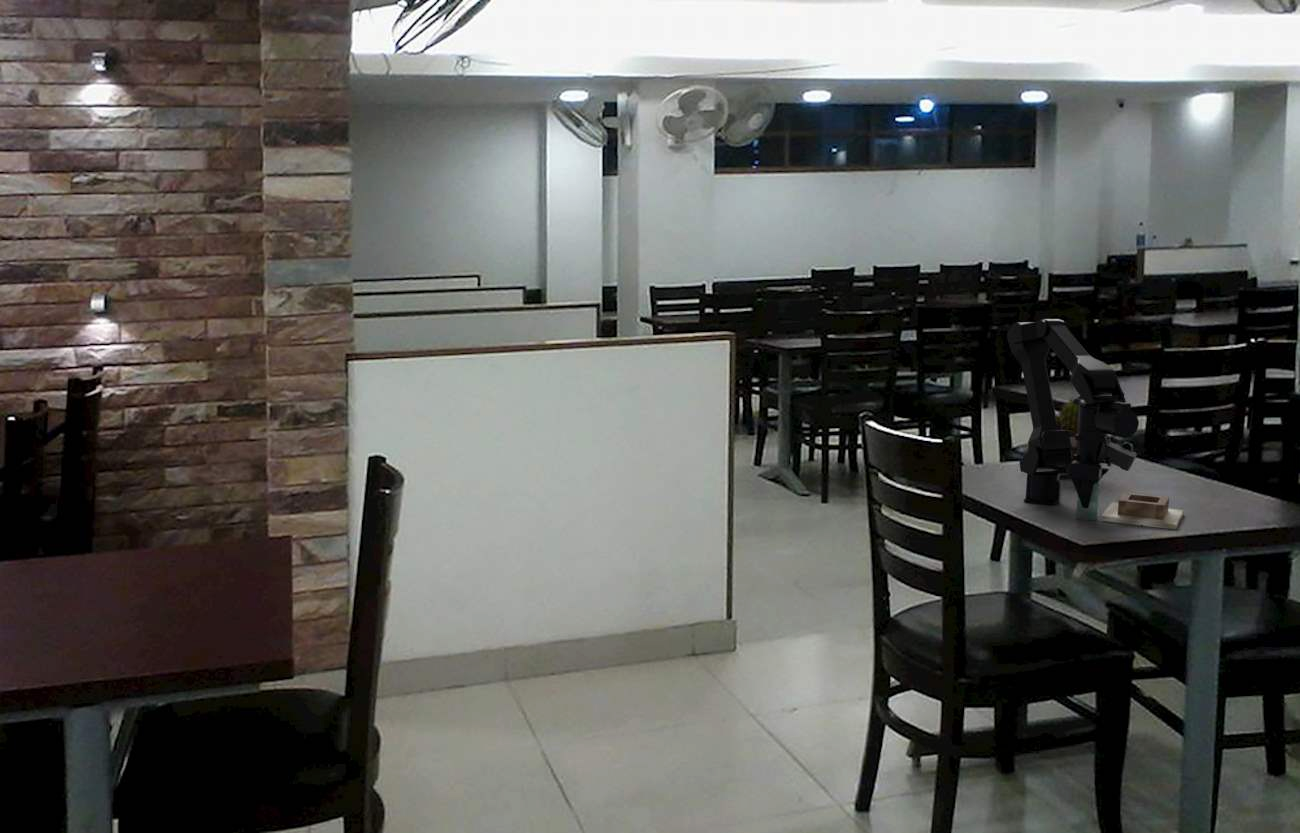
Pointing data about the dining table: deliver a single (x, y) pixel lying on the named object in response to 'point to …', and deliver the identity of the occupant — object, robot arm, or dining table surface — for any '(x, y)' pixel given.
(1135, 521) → the socket board
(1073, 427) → the flowerpot
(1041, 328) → the robot arm
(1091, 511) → the peg
